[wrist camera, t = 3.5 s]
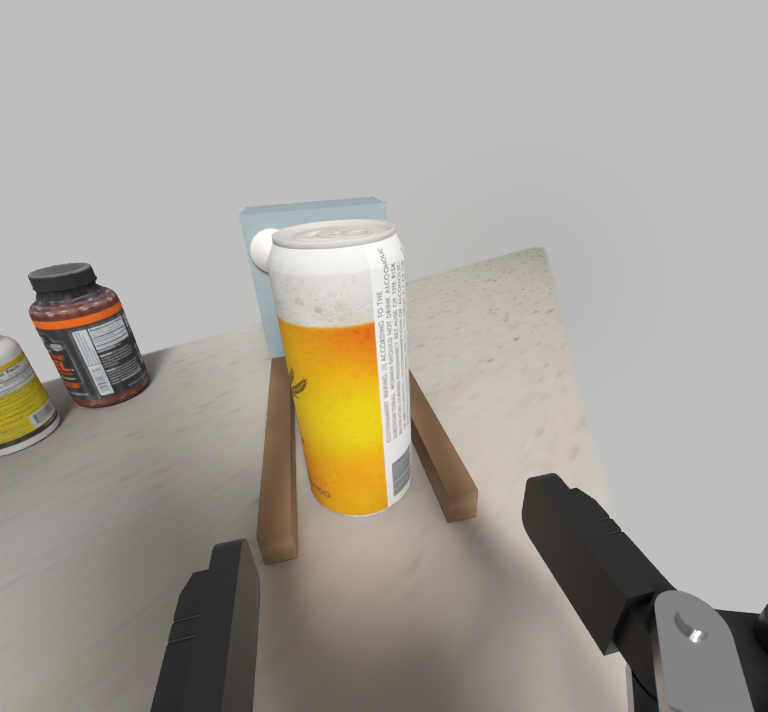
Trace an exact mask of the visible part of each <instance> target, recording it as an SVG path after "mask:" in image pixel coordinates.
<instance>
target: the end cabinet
mask: <svg viewBox="0 0 768 712" xmlns="http://www.w3.org/2000/svg"><path fill="white" fill-rule="evenodd" d="M239 217H240V221H241V226H242V231H243V236H244V240H245V245H246V249H247V254H248V258H249V263H250V267H251V272H252V277H253V281H254V286H255V291H256V295H257V299H258V304H259V309H260V313H261V318H262V323H263V327H264V332H265V336H266V341H267V345H268V350H269V355H270V359H271V363H272V358H276V357H283V356H285V353H284V348H283V343H282V338H281V333H280V328H279V323H278V318H277V313H276V308H275V303H274V298H273V293H272V288H271V283H270V278H269V273H268V267H267V261H268V258H269V254H270V250H271V246H272V243H273V242H272V237H271V236H272V234H273V233H275V232H276V231H279V230H281V229H284V228H288V227H291V226H296V225H301V224H307V223H314V222H322V221H332V220H350V219H367V220H380V221H386V205H385V202H383V201H380V200H378V199H376V198H374V197H363V198H351V199H339V200H327V201H315V202H303V203H292V204H279V205H266V206H255V207H246V208H245V209H244V210H243V211H242V213H241V214H240V215H239Z"/></svg>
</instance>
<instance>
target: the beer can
mask: <svg viewBox="0 0 768 712" xmlns="http://www.w3.org/2000/svg"><path fill="white" fill-rule="evenodd" d="M271 237H272V242H273V243H272V246H271V250H270V254H269V258H268V261H267V267H268V273H269V278H270V283H271V288H272V293H273V298H274V303H275V308H276V313H277V318H278V323H279V328H280V333H281V338H282V343H283V348H284V353H285V358H286V363H287V368H288V373H289V378H290V384H291V389H292V394H293V399H294V404H295V409H296V414H297V419H298V424H299V429H300V434H301V439H302V444H303V449H304V454H305V459H306V464H307V469H308V474H309V479H310V484H311V489H312V492H313V494H314V496H315V498H316V499H317V500H318V501H319V502H320V503H321V504H322V505H323V506H324V507H326V508H328V509H329V510H331V511H334V512H336V513H338V514H341V515H343V516H347V517H353V518H364V517H370V516H374V515H377V514H379V513H382V512H384V511H385V510H387V509H389V508H390V507H391V506H392V505H393V504H394V503H396V502H397V501H398V500H399V499H400V498H402V496H403V495H404V494H405V493H406V491H407V490H408V488H409V486H410V483H411V480H412V453H411V421H410V388H409V356H408V324H407V291H406V260H405V250H404V248H403V246H402V244H401V242H400V240H399V238H398V236H397V234H396V232H395V225H394V224H392V223H390V222H386V221H380V220H367V219H350V220H332V221H322V222H314V223H307V224H301V225H296V226H291V227H288V228H284V229H281V230H279V231H276V232H275V233H273V234H272V236H271Z"/></svg>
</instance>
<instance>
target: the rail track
mask: <svg viewBox="0 0 768 712" xmlns="http://www.w3.org/2000/svg"><path fill="white" fill-rule="evenodd" d="M409 388H410V421H411V439H412V441H413V443H414V446H415V448H416V450H417V453H418V455H419V457H420V459H421V462H422V464H423V466H424V469H425V471H426V473H427V475H428V478H429V480H430V482H431V485H432V487H433V489H434V491H435V494H436V496H437V498H438V501H439V503H440V505H441V507H442V510H443V512H444V514H445V517H446V519H447V521H448V523H449V522H454V521H458V520H462V519H467V518H471V517H475V516H476V511H477V498H478V489H477V487H476V485H475V483H474V482H473V480H472V478H471V476H470V475H469V473H468V471H467V469H466V468H465V466H464V464H463V462H462V461H461V459H460V457H459V455H458V454H457V452H456V450H455V448H454V447H453V445H452V443H451V441H450V440H449V438H448V436H447V434H446V433H445V431H444V429H443V427H442V426H441V424H440V422H439V420H438V419H437V417H436V415H435V413H434V412H433V410H432V408H431V406H430V405H429V403H428V401H427V399H426V398H425V396H424V394H423V392H422V391H421V389H420V387H419V385H418V384H417V382H416V380H415V378H414V377H413V375H412V373H411V371H410V370H409ZM257 541H258V545H259V548H260V551H261V554H262V557H263V560H264V564H265V565H267V564H272V563H276V562H280V561H285V560H289V559H293V558H298V556H297V510H296V464H295V417H294V399H293V394H292V389H291V384H290V378H289V373H288V368H287V363H286V358H285V356H283V357H276V358H272V363H271V374H270V386H269V398H268V410H267V421H266V433H265V445H264V456H263V468H262V480H261V492H260V503H259V515H258V527H257Z"/></svg>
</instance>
